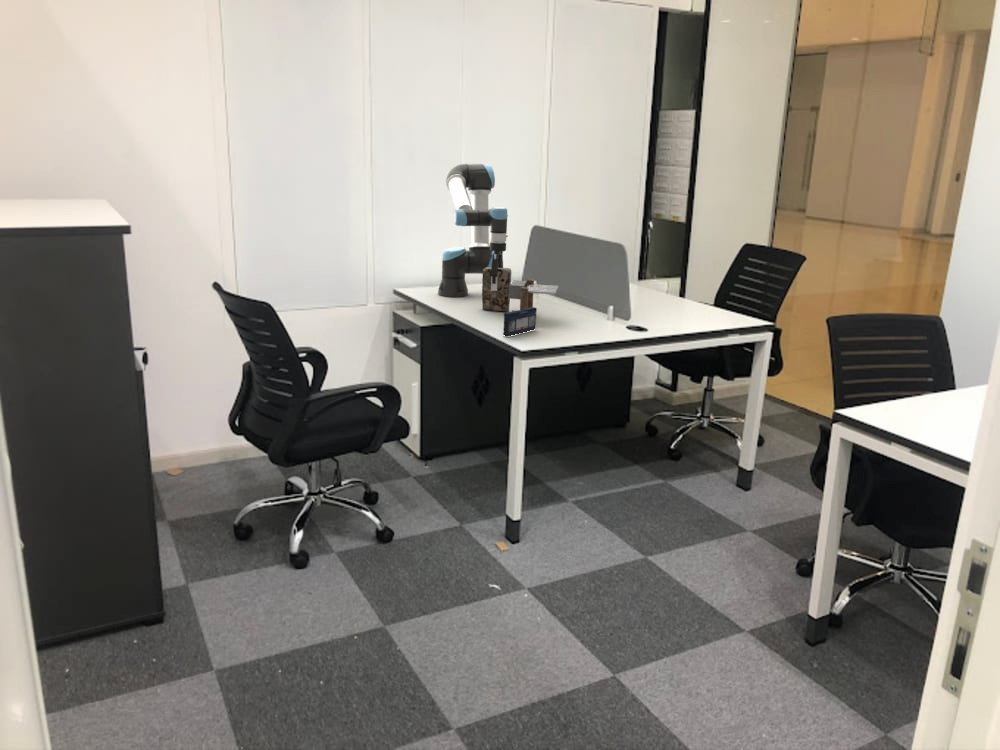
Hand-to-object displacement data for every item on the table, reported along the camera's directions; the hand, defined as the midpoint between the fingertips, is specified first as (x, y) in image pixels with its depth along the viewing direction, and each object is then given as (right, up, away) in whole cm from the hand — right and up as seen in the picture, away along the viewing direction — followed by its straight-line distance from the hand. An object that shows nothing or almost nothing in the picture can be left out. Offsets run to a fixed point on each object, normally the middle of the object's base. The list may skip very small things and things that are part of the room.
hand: (496, 288), depth 371 cm
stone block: (0, -10, +3) cm, 11 cm away
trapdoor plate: (+17, -6, -14) cm, 22 cm away
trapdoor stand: (+11, -15, -10) cm, 21 cm away
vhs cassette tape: (+10, -23, -36) cm, 44 cm away
